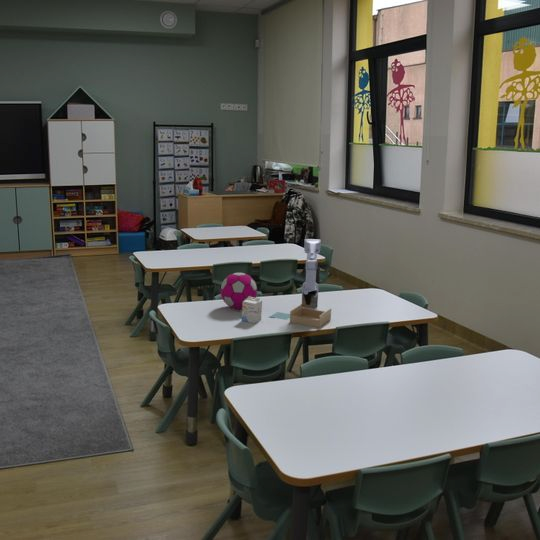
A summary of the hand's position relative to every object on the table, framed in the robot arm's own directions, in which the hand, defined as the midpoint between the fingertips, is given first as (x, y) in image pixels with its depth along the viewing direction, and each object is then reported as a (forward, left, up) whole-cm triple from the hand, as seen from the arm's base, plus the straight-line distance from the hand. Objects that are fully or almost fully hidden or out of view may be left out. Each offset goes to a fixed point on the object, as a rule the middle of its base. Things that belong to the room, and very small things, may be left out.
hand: (309, 303), depth 388 cm
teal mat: (0, -17, -10) cm, 20 cm away
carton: (0, +1, -10) cm, 10 cm away
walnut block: (0, 0, -2) cm, 2 cm away
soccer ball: (-1, -47, -11) cm, 48 cm away
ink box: (+16, -29, -11) cm, 35 cm away
